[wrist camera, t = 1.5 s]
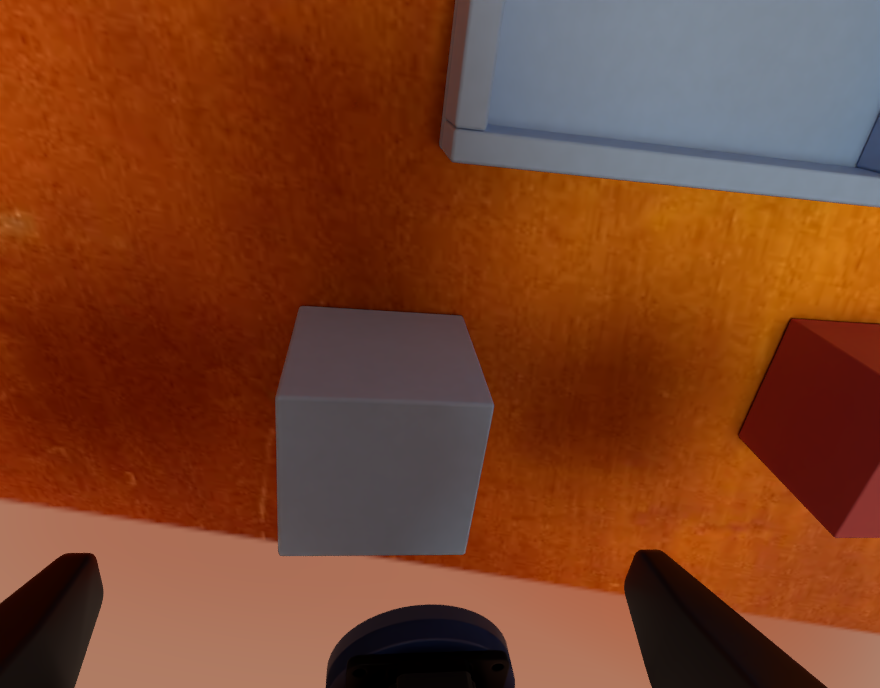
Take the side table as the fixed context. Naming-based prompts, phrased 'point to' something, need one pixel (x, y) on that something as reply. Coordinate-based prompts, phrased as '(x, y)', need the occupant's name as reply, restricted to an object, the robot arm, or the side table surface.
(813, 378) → the burgundy block
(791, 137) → the blue tray
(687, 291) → the side table surface
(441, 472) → the gray block
